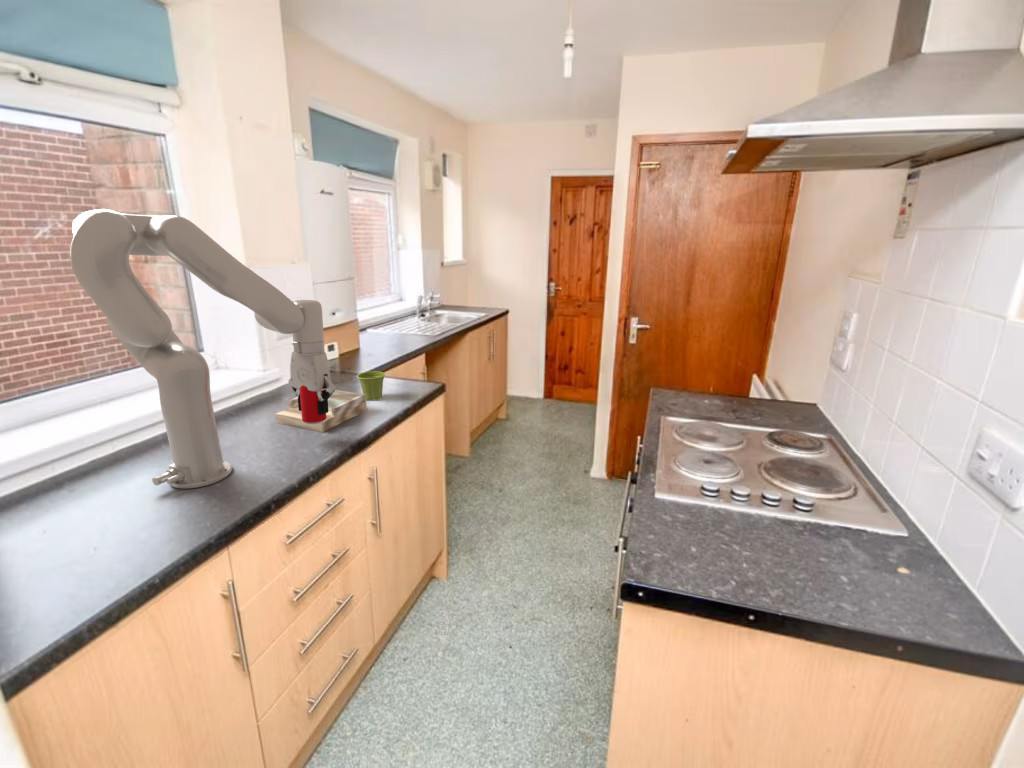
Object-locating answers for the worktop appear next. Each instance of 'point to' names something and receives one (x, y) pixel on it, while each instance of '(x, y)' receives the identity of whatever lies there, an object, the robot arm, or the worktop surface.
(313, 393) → the beverage can
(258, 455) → the worktop surface
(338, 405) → the dock
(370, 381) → the plant pot
